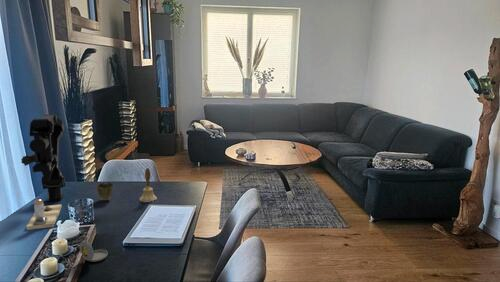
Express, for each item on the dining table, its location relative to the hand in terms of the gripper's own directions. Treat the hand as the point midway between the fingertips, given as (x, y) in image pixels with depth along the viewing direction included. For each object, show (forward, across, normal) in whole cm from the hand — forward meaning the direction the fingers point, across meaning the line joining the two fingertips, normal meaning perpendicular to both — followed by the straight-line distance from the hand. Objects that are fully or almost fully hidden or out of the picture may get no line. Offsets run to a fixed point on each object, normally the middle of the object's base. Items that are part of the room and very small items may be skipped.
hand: (47, 181), depth 147 cm
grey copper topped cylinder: (+11, +18, 0) cm, 21 cm away
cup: (+13, -4, +23) cm, 27 cm away
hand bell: (+13, +1, +42) cm, 44 cm away
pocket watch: (+13, +50, +22) cm, 56 cm away
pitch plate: (+13, +10, 0) cm, 16 cm away
